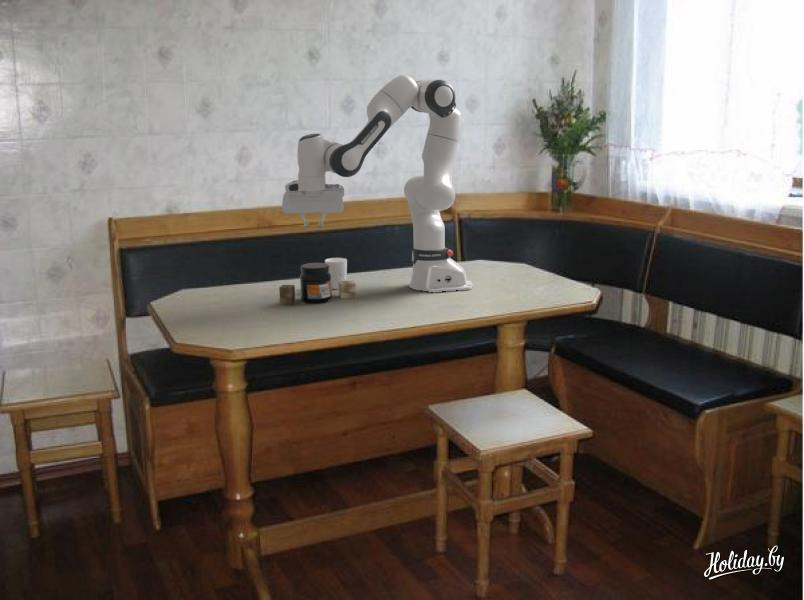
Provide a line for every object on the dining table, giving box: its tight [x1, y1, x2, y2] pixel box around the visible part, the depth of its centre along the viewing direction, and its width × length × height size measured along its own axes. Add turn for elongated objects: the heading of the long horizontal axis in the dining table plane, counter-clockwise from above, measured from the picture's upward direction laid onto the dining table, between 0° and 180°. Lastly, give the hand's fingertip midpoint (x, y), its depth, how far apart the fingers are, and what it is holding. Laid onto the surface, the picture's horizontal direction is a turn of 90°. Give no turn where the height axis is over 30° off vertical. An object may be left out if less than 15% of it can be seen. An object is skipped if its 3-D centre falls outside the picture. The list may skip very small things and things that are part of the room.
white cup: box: [324, 257, 348, 290], centre depth 305 cm, size 8×8×10 cm
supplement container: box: [299, 262, 333, 304], centre depth 287 cm, size 10×10×12 cm
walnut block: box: [278, 284, 296, 306], centre depth 283 cm, size 4×4×6 cm
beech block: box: [338, 280, 357, 300], centre depth 292 cm, size 5×5×5 cm
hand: (313, 226), depth 282 cm, fingers open, 3 cm apart
